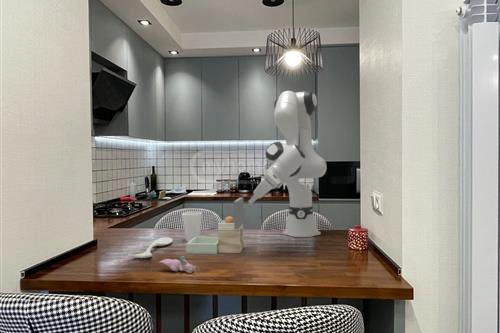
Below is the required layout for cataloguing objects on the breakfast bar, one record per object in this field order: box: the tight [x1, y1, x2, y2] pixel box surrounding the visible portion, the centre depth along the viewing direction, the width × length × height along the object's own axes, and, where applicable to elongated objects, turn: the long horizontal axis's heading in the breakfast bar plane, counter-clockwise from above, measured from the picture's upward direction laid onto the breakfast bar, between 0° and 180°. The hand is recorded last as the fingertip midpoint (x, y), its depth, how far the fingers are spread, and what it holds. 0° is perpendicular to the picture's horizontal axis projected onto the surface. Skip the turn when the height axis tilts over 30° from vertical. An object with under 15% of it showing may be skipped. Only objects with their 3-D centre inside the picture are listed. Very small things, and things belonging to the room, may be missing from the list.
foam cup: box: [181, 211, 203, 242], centre depth 166 cm, size 10×9×13 cm
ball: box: [224, 215, 234, 223], centre depth 146 cm, size 4×4×4 cm
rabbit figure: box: [158, 255, 200, 275], centre depth 120 cm, size 6×6×15 cm
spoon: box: [127, 236, 173, 259], centre depth 148 cm, size 9×32×4 cm, turn 175°
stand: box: [217, 226, 244, 254], centre depth 146 cm, size 9×9×9 cm
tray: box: [185, 236, 218, 255], centre depth 148 cm, size 13×13×4 cm
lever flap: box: [217, 197, 245, 231], centre depth 146 cm, size 9×14×12 cm, turn 171°
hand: (251, 201), depth 144 cm, fingers open, 8 cm apart
